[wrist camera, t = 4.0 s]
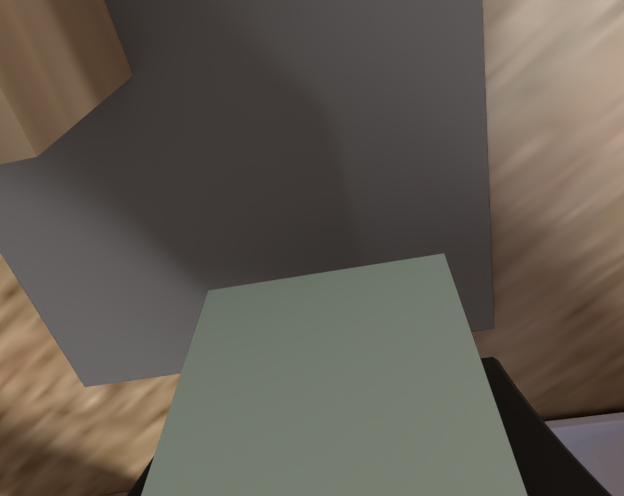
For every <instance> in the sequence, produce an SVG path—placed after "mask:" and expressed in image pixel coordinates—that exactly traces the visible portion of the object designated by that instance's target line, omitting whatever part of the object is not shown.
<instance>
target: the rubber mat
mask: <svg viewBox="0 0 624 496" xmlns="http://www.w3.org/2000/svg"><path fill="white" fill-rule="evenodd" d="M104 1H105V4H106V6H107V9H108V12H109V14H110V17H111V19H112V22H113V25H114V27H115V30H116V32H117V35H118V38H119V40H120V43H121V45H122V48H123V51H124V53H125V56H126V58H127V61H128V63H129V66H130V69H131V71H132V74H133V76H132V77H131V78H129V79H128V80H127V81H126V82H125V83H124V84H122V85H121V86H120V87H119V88H118V89H116V90H115V91H114V92H113V93H112V94H111V95H109V96H108V97H107V98H106V99H105V100H104V101H102V102H101V103H100V104H99V105H98V106H96V107H95V108H94V109H93V110H92V111H91V112H89V113H88V114H87V115H86V116H85V117H83V118H82V119H81V120H80V121H79V122H78V123H76V124H75V125H74V126H73V127H72V128H70V129H69V130H68V131H67V132H66V133H65V134H63V135H62V136H61V137H60V138H59V139H57V140H56V141H55V142H54V143H53V144H52V145H50V146H49V147H48V148H47V149H46V150H44V151H43V152H42V153H41V154H40V155H39V156H37V157H34V158H29V159H24V160H19V161H14V162H9V163H4V164H0V253H1V254H2V256H3V257H4V259H5V261H6V262H7V264H8V265H9V267H10V269H11V270H12V272H13V273H14V275H15V277H16V278H17V280H18V281H19V283H20V285H21V286H22V288H23V289H24V291H25V293H26V294H27V296H28V297H29V299H30V300H31V302H32V304H33V305H34V307H35V308H36V310H37V312H38V313H39V315H40V316H41V318H42V320H43V321H44V323H45V324H46V326H47V328H48V329H49V331H50V332H51V334H52V336H53V337H54V339H55V340H56V342H57V344H58V345H59V347H60V348H61V350H62V352H63V353H64V355H65V356H66V358H67V360H68V361H69V363H70V364H71V366H72V368H73V369H74V371H75V372H76V374H77V375H78V377H79V379H80V380H81V382H82V383H83V385H84V387H89V386H96V385H103V384H110V383H117V382H124V381H131V380H138V379H145V378H152V377H159V376H166V375H173V374H180V373H181V372H182V369H183V366H184V363H185V360H186V357H187V354H188V351H189V348H190V345H191V342H192V339H193V336H194V333H195V330H196V327H197V324H198V321H199V318H200V314H201V311H202V308H203V305H204V302H205V299H206V296H207V293H208V291H209V290H215V289H221V288H228V287H234V286H240V285H247V284H253V283H259V282H266V281H272V280H278V279H285V278H291V277H297V276H304V275H310V274H316V273H323V272H329V271H335V270H342V269H348V268H354V267H361V266H367V265H374V264H380V263H386V262H393V261H399V260H405V259H412V258H418V257H424V256H431V255H437V254H443V253H444V255H445V258H446V260H447V263H448V266H449V269H450V272H451V275H452V278H453V281H454V284H455V287H456V289H457V292H458V295H459V298H460V301H461V304H462V307H463V310H464V313H465V316H466V318H467V321H468V324H469V327H470V330H471V332H474V331H481V330H488V329H494V308H493V281H492V254H491V226H490V199H489V172H488V145H487V117H486V90H485V63H484V36H483V8H482V0H104Z"/></svg>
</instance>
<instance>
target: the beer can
mask: <svg viewBox="0 0 624 496" xmlns="http://www.w3.org/2000/svg"><path fill="white" fill-rule="evenodd" d="M128 493H129V492H120V493H116V494H112V495H108V496H127V495H128Z"/></svg>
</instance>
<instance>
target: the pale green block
mask: <svg viewBox="0 0 624 496" xmlns="http://www.w3.org/2000/svg"><path fill="white" fill-rule="evenodd" d="M141 496H527V493H526V490H525V487H524V484H523V481H522V478H521V475H520V472H519V469H518V466H517V464H516V461H515V458H514V455H513V452H512V449H511V446H510V443H509V440H508V437H507V435H506V432H505V429H504V426H503V423H502V420H501V417H500V414H499V411H498V408H497V406H496V403H495V400H494V397H493V394H492V391H491V388H490V385H489V382H488V379H487V377H486V374H485V371H484V368H483V365H482V362H481V359H480V356H479V353H478V350H477V347H476V345H475V342H474V339H473V336H472V333H471V330H470V327H469V324H468V321H467V318H466V316H465V313H464V310H463V307H462V304H461V301H460V298H459V295H458V292H457V289H456V287H455V284H454V281H453V278H452V275H451V272H450V269H449V266H448V263H447V260H446V258H445V255H444V253H443V254H437V255H431V256H424V257H418V258H412V259H405V260H399V261H393V262H386V263H380V264H374V265H367V266H361V267H354V268H348V269H342V270H335V271H329V272H323V273H316V274H310V275H304V276H297V277H291V278H285V279H278V280H272V281H266V282H259V283H253V284H247V285H240V286H234V287H228V288H221V289H215V290H209V291H208V293H207V296H206V299H205V302H204V305H203V308H202V311H201V314H200V318H199V321H198V324H197V327H196V330H195V333H194V336H193V339H192V342H191V345H190V348H189V351H188V354H187V357H186V360H185V363H184V366H183V369H182V372H181V375H180V379H179V382H178V385H177V388H176V391H175V394H174V397H173V400H172V403H171V406H170V409H169V412H168V415H167V418H166V421H165V424H164V427H163V430H162V433H161V437H160V440H159V443H158V446H157V449H156V452H155V455H154V458H153V461H152V464H151V467H150V470H149V473H148V476H147V479H146V482H145V485H144V488H143V491H142V494H141Z"/></svg>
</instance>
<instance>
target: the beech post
mask: <svg viewBox="0 0 624 496" xmlns="http://www.w3.org/2000/svg"><path fill="white" fill-rule="evenodd" d="M132 76H133V74H132V71H131V69H130V66H129V63H128V61H127V58H126V56H125V53H124V51H123V48H122V45H121V43H120V40H119V38H118V35H117V32H116V30H115V27H114V25H113V22H112V19H111V17H110V14H109V12H108V9H107V6H106V4H105V1H104V0H0V164H4V163H9V162H14V161H19V160H24V159H29V158H34V157H37V156H39V155H40V154H41V153H42V152H43V151H44V150H46V149H47V148H48V147H49V146H50V145H52V144H53V143H54V142H55V141H56V140H57V139H59V138H60V137H61V136H62V135H63V134H65V133H66V132H67V131H68V130H69V129H70V128H72V127H73V126H74V125H75V124H76V123H78V122H79V121H80V120H81V119H82V118H83V117H85V116H86V115H87V114H88V113H89V112H91V111H92V110H93V109H94V108H95V107H96V106H98V105H99V104H100V103H101V102H102V101H104V100H105V99H106V98H107V97H108V96H109V95H111V94H112V93H113V92H114V91H115V90H116V89H118V88H119V87H120V86H121V85H122V84H124V83H125V82H126V81H127V80H128V79H129V78H131V77H132Z"/></svg>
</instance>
